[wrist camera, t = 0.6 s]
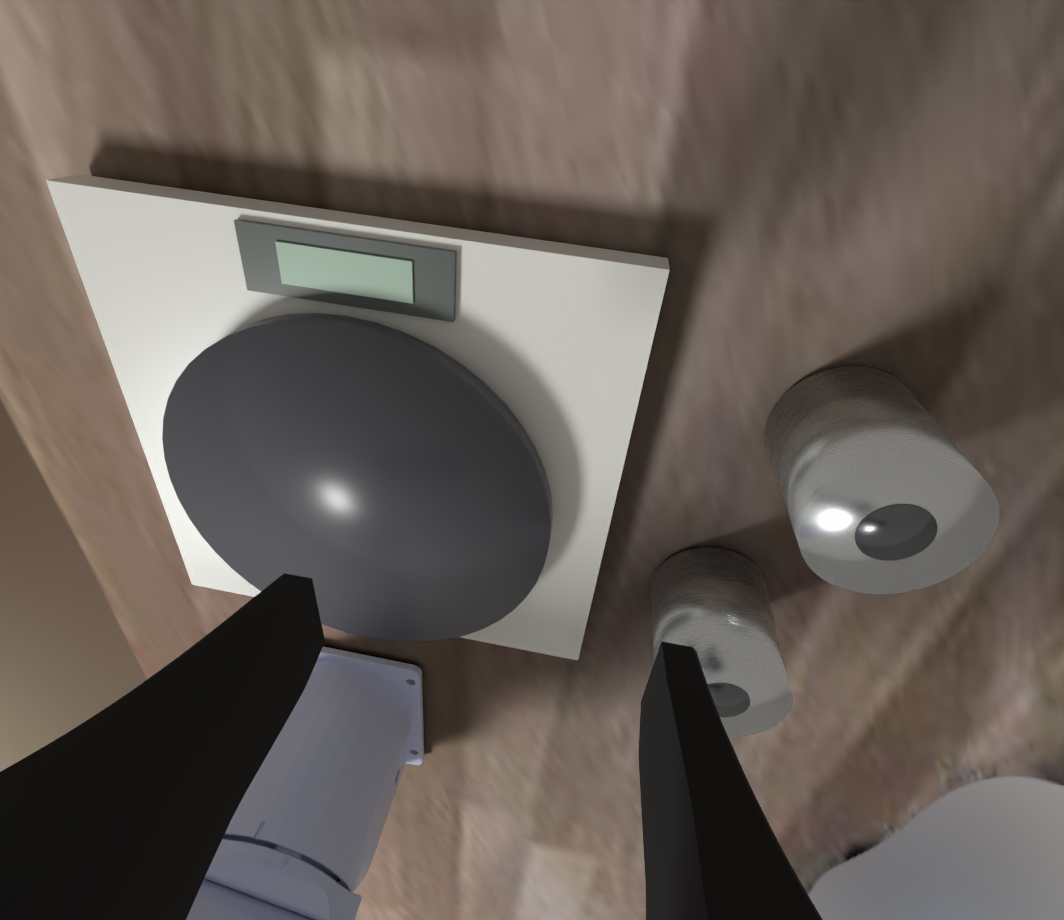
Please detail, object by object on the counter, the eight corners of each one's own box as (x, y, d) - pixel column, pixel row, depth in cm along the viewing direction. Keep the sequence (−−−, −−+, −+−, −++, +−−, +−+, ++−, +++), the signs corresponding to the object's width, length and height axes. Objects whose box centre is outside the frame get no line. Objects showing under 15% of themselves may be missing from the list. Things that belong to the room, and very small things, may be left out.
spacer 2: (877, 494, 19) (942, 609, 15) (746, 472, 20) (774, 579, 15) (944, 378, 17) (1043, 478, 13) (792, 355, 17) (841, 445, 13)
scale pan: (532, 653, 24) (529, 669, 24) (224, 592, 25) (213, 606, 25) (579, 352, 16) (577, 363, 16) (125, 281, 17) (105, 289, 17)
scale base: (580, 638, 26) (577, 668, 24) (208, 566, 27) (186, 591, 26) (667, 258, 16) (670, 274, 15) (79, 174, 17) (33, 182, 16)
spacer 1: (744, 633, 24) (766, 750, 20) (641, 613, 24) (641, 724, 20) (781, 559, 21) (814, 674, 17) (665, 538, 22) (670, 647, 18)
